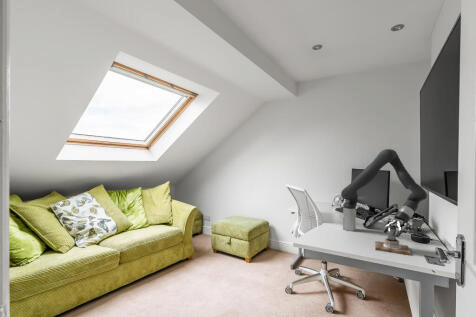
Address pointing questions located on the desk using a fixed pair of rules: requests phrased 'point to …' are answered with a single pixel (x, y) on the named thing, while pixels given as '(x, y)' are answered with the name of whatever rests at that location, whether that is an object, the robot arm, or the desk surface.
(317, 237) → the desk surface
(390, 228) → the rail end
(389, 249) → the cup bracket
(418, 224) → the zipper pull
